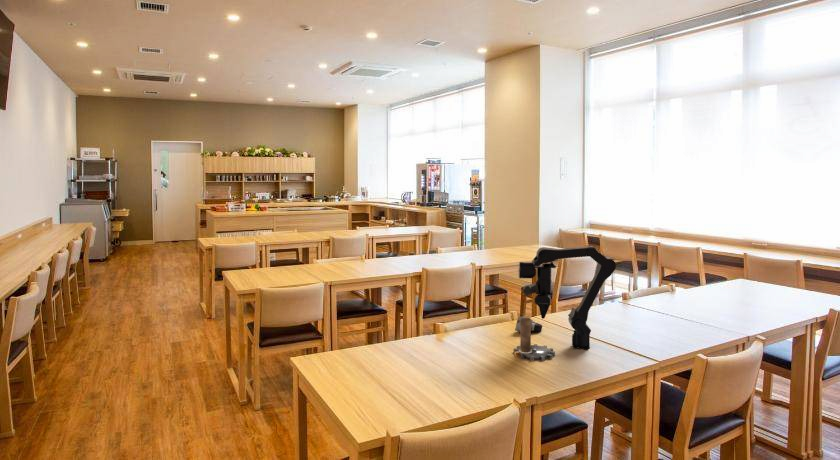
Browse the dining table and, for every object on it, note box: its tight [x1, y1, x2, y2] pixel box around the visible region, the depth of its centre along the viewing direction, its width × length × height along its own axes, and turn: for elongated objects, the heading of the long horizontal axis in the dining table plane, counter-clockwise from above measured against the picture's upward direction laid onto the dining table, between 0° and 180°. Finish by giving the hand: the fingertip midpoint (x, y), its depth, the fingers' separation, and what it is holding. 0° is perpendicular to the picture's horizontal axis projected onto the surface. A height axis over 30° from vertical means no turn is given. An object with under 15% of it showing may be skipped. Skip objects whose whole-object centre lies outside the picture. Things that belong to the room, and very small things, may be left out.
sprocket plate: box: [513, 343, 556, 362], centre depth 211 cm, size 16×16×2 cm
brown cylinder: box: [519, 316, 532, 352], centre depth 210 cm, size 4×4×13 cm
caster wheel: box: [514, 315, 543, 332], centre depth 242 cm, size 7×11×10 cm
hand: (543, 315), depth 220 cm, fingers open, 9 cm apart
